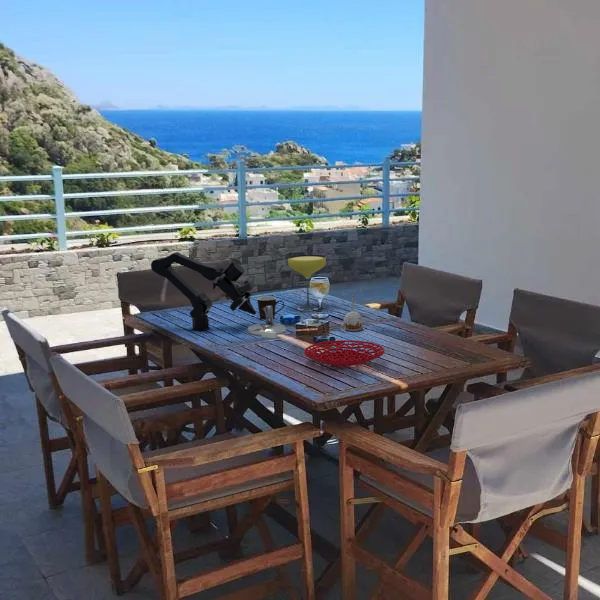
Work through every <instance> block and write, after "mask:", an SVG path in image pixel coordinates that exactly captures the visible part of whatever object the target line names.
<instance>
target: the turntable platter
mask: <svg viewBox="0 0 600 600" xmlns="http://www.w3.org/2000/svg"><path fill="white" fill-rule="evenodd" d="M265 308H266V319H265V323H258V324H253V325H250V326H248V327H247V333H248V334H250V335H253V336H261V337H262V334H261V332H262V331H267V330H270V331H271V332H276V336H277V335H281V334H283V333H285V332H286V330H287V329H286V325H284V324H280V323H274V319H273V308H272V306H265Z"/></svg>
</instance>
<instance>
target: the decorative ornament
mask: <svg viewBox="0 0 600 600" xmlns="http://www.w3.org/2000/svg"><path fill="white" fill-rule="evenodd" d="M354 297H355V296H354V295H353V294H352V295H351V311H349V312H348V313H346V314H345V315H344V318H343V325H344V327H343V329H344V330H345V331H348V332H356V331H361V330H363V326H362V325H363V318H362V315H361V314H360V313H359V312H357V311H355V308H354V307H355V305H354V303H355V301H354Z"/></svg>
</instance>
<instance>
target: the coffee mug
mask: <svg viewBox="0 0 600 600" xmlns="http://www.w3.org/2000/svg"><path fill="white" fill-rule="evenodd" d="M256 302H257V307H258V313H259V314H258V315H259V319H260V320H266V308H265V306H272V308H273V320H275V317H276V314H277V313H279V312H280V311H282V310H283V309H284V307H285V302H284V301H283V300H281V299H279V300H277V297H275V296H260V297H257V298H256ZM279 302H280V303H282V304H283V305H282V307H281V308H280V309H278V310H277V311H276V306H277V304H278V303H279Z"/></svg>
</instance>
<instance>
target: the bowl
mask: <svg viewBox="0 0 600 600" xmlns="http://www.w3.org/2000/svg"><path fill="white" fill-rule="evenodd" d="M323 347H324V348H323ZM331 347H333V348H331ZM354 349H356V350H354ZM333 351H334V352H333ZM385 352H386V351H385V348H384V347H383V346H382V345H380V344H377V343H374V342H371V341H365V340H364V341H363V340H354V339H353V340H350V339H342V340H338V339H337V340H329V341H322V342H318V343H313V344H312V345H309V346H307V347H305V349H304V351H303V355H305V356H306V358H309V359H311V360H314V361H316V362H319V363H322V364H326V365H330V366H333V367H341V368H342V367H353V366H359V365H361V364H364V363H366V362H367V363H368V362H370V361H372V360H375V359H377V358H380V357H382V356H383V355H384V354H385Z"/></svg>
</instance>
